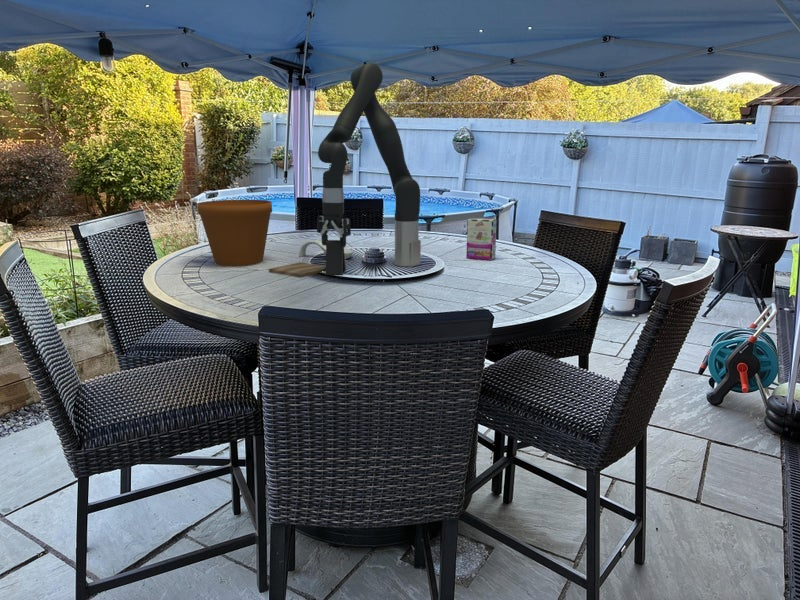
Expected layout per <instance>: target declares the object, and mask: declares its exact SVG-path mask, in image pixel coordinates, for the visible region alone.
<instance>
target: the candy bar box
mask: <svg viewBox="0 0 800 600" xmlns="http://www.w3.org/2000/svg"><path fill="white" fill-rule="evenodd" d="M466 223H467V224H466V228H467V229H466V259H469V260H480V261H490V262H492V261H493V260H496V252H497V251H496V249H497V246H496V245H497V244H496V243H497V219H493V218H468V219H467V220H466Z"/></svg>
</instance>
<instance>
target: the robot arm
mask: <svg viewBox="0 0 800 600" xmlns="http://www.w3.org/2000/svg"><path fill="white" fill-rule="evenodd" d="M383 76H384V75H383V71H382V69H381V67H380V66H379V65H378V64H376V63H375V62H367V63H364V64H363V65H361V66H358V67H357V68H355V69H354V70H353V71H352V72H351V74H350V84H351V87H352V89H353V94H352V95H351V97H350V99H349V100H348V102H347V103H346V104H345V105H344V107H343V108H342V109H341V111H340V113H339V115H338V116H337V118H336V121H335V122H334V124H333V127H332V129H331V130H330V131H329V133H328V134H327V135H326V136H325V137H324V138H323V140H322V141H321V142H320V144H319V146H318V150H317V151H318V152H317V155H318V159H319V160H320V161H321V162H322V163H324V164H330V167H329V169H328V170H325V171H324V172H323V173H322V193H321V195H322V198H321V199H322V214H323V215H318V216H317V217H316V232H317V234H320V236H321V241H322V245H326V241H327V240H329V235H328V233H329V231H331V230H332V231H335V232H337V233H338V235H339V240H340V248H346V246H347V237H348V236H351V234H352V231H351V219H350V218H344V217H343V216H344V213H345V198H344V197H345V194H344V172H345V170H346V165H347V161H348V150H347V147H346V146H345V145H344V144H345V143H349V141H350V140H351V139H352V136H353V134H354V133H355V129H356V128H357V125H358V123H359V121H360V119H361V117H362V115H363V113H364V116H365V118H366V121H367V123H368V125H369V128H370V131H371V134H372V137H373V139H374V143H375V145H376V147H377V149H378V152H379V154H380V157H381V158H382V160H383V163H384V165H385V167H386V170H387V172H388V173H389V174H388V175H389V178H390V181H391V186H392V190H393V194H394V196H395V210H394V265H395V266H399V267H410V268H411V267H416V266H419V265H421V249H422V248H421V247H422V246H421V245H422V244H421V243H422V241H421V240H420V239H419V230H420V229H419V220H420V217H419V216H420V209H421V188H420V184H419V182H417V180H415V179H414V178H413V176H412V175H411V173H410V169H409V168H408V166H407V162H406V160H405V154H404V149H403V143H402V140H401V136H400V133H399V130H398V127H397V126H396V123H395V121H394V120H393V119H392V117H391V116H390V115H389V114H388V112H387V111H385V110H384V108H383V107H382V106H381V104H380V102H379V99H378V98H377V95H376V92H377V91H378V89H379V87H380V86H381V85H382V82H383V80H384V79H383Z"/></svg>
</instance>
